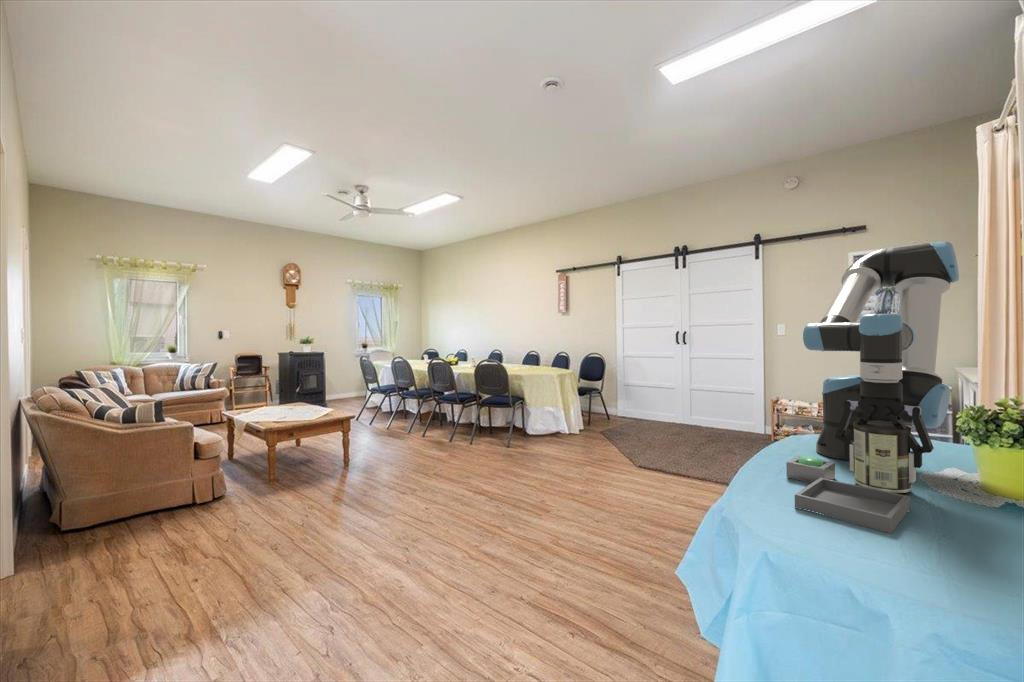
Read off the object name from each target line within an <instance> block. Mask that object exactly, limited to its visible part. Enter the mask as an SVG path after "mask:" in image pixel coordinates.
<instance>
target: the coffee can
mask: <svg viewBox="0 0 1024 682" xmlns="http://www.w3.org/2000/svg"><path fill="white" fill-rule="evenodd" d="M853 427H854V460H855V471H854V483H855V484H856V485H858V486H863V487H867V488H872V489H877V490H882V491H886V492H891V493H896V494H903V493H909V492H911V491H912V483H910V482H909V453H910V452H911V448H910V447H909V445H908V434H910V432H911V433H912V428H911V426H906V427H907V428H906V429H903V430H901V429H897V428H896V427H895V426H894V425H893V424H892V423H891V422H882V421H868V422H867V423H866V424H864V425H858V424H857V422H854V423H853Z"/></svg>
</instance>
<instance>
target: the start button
mask: <svg viewBox="0 0 1024 682" xmlns="http://www.w3.org/2000/svg"><path fill="white" fill-rule="evenodd" d="M801 456H802V457H799V463H801V464H807V465H812V466H817V467H821V466H822V465H823V460H824V459H821V458H818V457H815V456H808V455H807V456H806V455H805V456H803V455H801Z"/></svg>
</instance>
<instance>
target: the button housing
mask: <svg viewBox="0 0 1024 682" xmlns="http://www.w3.org/2000/svg"><path fill="white" fill-rule="evenodd" d="M802 456H803V455H798V456H794V457H793V458H791V459H790V460H788V461H786V462H785V464H786V465H785V466H786V478H787V477H788V478H787V479H790V478H792V479H791V480H795V479H796V480H795V481H799V480H800V481H799V482H804V481H805V482H804V483H808V482H809V483H810V484H811V483H813V482H814V481H816V480H817V479H819V478H825V479H829V480H835V479H836V462H835V461H830V460H825V459H822V460H823V465H822V466H821V467H817V466H812V465H807V464H801V463H799V457H802Z"/></svg>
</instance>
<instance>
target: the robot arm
mask: <svg viewBox="0 0 1024 682" xmlns="http://www.w3.org/2000/svg"><path fill="white" fill-rule="evenodd" d="M959 278H960V275H959V266H958V260H957V256H956V251H955V248H954V245H953V244H952V243H951V242H949V241H935V242H932V241H930V242H928V243H927V242H926V243H920V244H911V245H906V246H905V245H904V246H895V247H887V248H881V249H877V250H875V251H872V252H870V253H869V252H868V254H866V255H864V256H862V257H860V258H858V259H857V260H856V261H854V262H853V263H852V264H851V265H850V266H849V267H848V268H847V269H846V270H845V272H844V273H843V275H842V277H841V286H840V288H839V289H838V291H837V293H836V295H835V296H834V298H833V300H832V301H831V303H830V305H829V307H828V308H827V310H826V312H825V313H824V315H823V317H822V319H821V320H820V321H819V322H814V323H807V324H806V325H805V326H804V328H803V330H802V331H803V332H802V340H803V344H804V347H805V349H807V350H809V351H820V352H859V358H860V359H859V374H852V375H851V374H850V375H840V376H839V375H837V376H830V377H826V378H825V379H824V381H823V383H822V392H821V394H822V428H821V431H820V432H819V435H818V438H817V440H816V443H815V450H816V452H817V453H818V454H820V455H822V456H825V457H829V458H833V459H837V460H843V461H849V471H850V472H854V473H855V460H854V427H853V423H854V422H857V424H858V425H864V424H866V423H867V422H868V421H882V422H891V423H892V424H893V425H894V426H895V427H896V428H897V429H901V430H903V429H906V428H907V427H906V426H908V427H910V428H911V427H912V428H914V429H915V430H916V432H917V435H918V438H919V440H920V443H921V444H920V443H919V442H918V441H917V439H916V438H915V436H914V435H913V433H912V431H911V432H910V434H908V445H909V447H910V453H909V482H910V483H911V484H914V483H915V482H916V481H917V469H921V468H922V466H923V454H925V453H927V454H929V453H931V452H932V451H933V450H934V449H935V448H934V446H933V442H932V440H931V437H930V435H929V432H928V430H927V429H936V428H938V427H940V426H941V425H942V424H943V422H944V421H945V419H946V416H947V414H948V410H949V405H950V397H951V390H950V387H949V385H947V384H944V383H943V378H942V377H941V376H940V375H939V374H937V373H936V366H937V355H938V354H937V353H938V342H939V341H938V340H939V331H940V330H939V329H940V318H941V307H942V296H943V295H942V294H944V293H947V292H948V291H949V290H950V288H951V283H956V282H959ZM886 287H887V288H888V287H894V290H895V292H897V293H898V294H900V297H899V298H900V300H899V305H898V306H899V307H898V313H895V312H894V313H871V314H869V313H868V314H863V315H862V312H863V310H864V308H865V307H866V305H867V304H868V303H867V302H868V300H869V299H870V297H871V295H872V294H873V293H875V292H877V290H878V289H879V288H886ZM860 316H861V317H860ZM859 318H860V319H859ZM858 320H859V322H858ZM921 445H922V446H921Z"/></svg>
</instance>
